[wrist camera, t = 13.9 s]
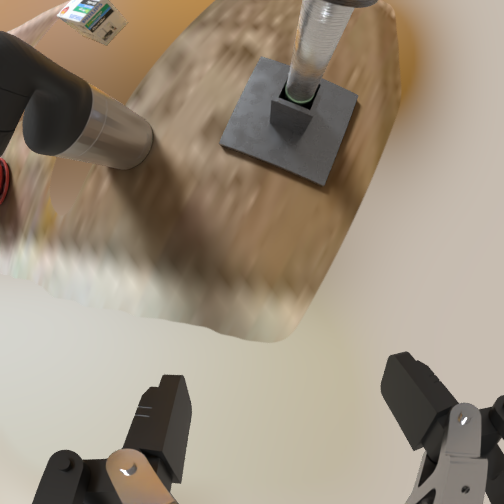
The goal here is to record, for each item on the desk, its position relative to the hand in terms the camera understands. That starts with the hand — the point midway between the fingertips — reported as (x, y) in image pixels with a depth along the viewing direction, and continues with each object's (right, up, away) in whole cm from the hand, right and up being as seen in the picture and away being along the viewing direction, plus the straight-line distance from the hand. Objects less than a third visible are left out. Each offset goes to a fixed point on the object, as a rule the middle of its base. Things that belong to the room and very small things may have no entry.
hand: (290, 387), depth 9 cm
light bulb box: (-32, +50, +25) cm, 64 cm away
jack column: (+4, +24, +21) cm, 32 cm away
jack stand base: (+4, +25, +27) cm, 37 cm away
